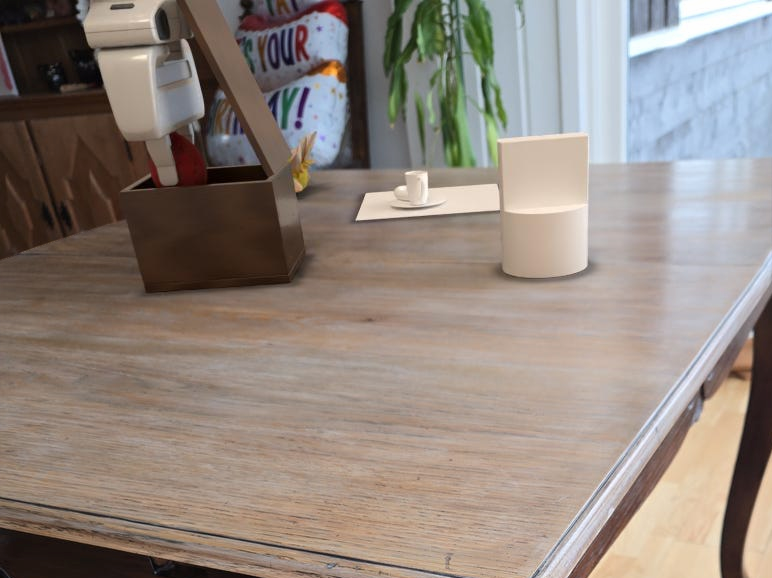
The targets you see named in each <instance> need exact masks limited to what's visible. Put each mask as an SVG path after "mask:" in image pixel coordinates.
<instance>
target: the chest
mask: <svg viewBox="0 0 772 578" xmlns="http://www.w3.org/2000/svg"><path fill="white" fill-rule="evenodd" d="M206 168H207V182H206V185H195V186H181V187H167V188H157V187H156V185H155V184H154V182H153V179H152V176H151V172H150V173H148V174H146V175H145V176H143V177H141V178H140V179H138V180H136V181H134V183H132V184H130V185H128V186H127V187H125V188H124V189H122V190H120V191H119V192H118V195H119V200H120V202H121V207H122V210H123V213H124V217H125V221H126V225H127V229H128V233H129V235H130V240H131V243H132V247H133V251H134V254H135V258H136V262H137V265H138V269H139V272H140V276H141V280H142V284H143V288H144V292H145V293H160V292H175V291H188V290H189V291H191V290H204V289H218V288H234V287H245V286H246V287H247V286H260V285H261V286H263V285H275V284H290V283H291V282H292V280H293V278H294V276H295V275H296V273H297V271H298V270H299V267H300V265H301V264H302V262H303V260H304V259H305V257H306V255H307V251H306V245H305V240H304V234H303V228H302V223H301V221H302V220H301V216H300V209H299V204H298V197H297V193H296V191H295V185H294V179H293V173H292V167H291V162H286V163H285V164H284V165H283V166H282V167H281V168H280V169H279V170H278V171H277V172H276V173H275V174H274V175H272V176H270V177H267V175H266V173H265V171H264V169H263V167H262V165H261V164H260V163H252V164H239V165H223V166H209V167H206Z"/></svg>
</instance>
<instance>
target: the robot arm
mask: <svg viewBox="0 0 772 578" xmlns="http://www.w3.org/2000/svg"><path fill="white" fill-rule="evenodd" d="M83 30H84V33H85V37H86V42H87V44H88V46H89V48H91V49H92V50H98V51H97V61H98V68H99V71H100V74H101V79H102V82H103V85H104V89H105V91H106V96H107V98H108V101H109V104H110V107H111V111H112V113H113V117H114V120H115V123H116V125H117V127H118V129H119V131H120V133H121V135H122V136H123V138H124V139H125V141H127V142H145V145H146V150H147V152H148V154H149V156H151V158H152V160H153V162H154V164H155V166H156V167H157V171H158V175H159V179H160V182H161V184H162V185H164V186H170V185H176V184H177V183H179V182H180V180H181V177H180V174H179V168H178V164H175V161H174V158H173V155H172V151H171V148H170V146H171V141H170V137H169V134H170V133H172V132H174V131H177V133H178V134H179V135H181V136H183V137H185V138H186V139H188V140H189V141H190V142H192V143H193V144H194V145H195V132H194V126H193V123H194V122H196V121H198V120H200V119H202V118H204V117H205V102H204V97H203V93H202V89H201V85H200V80H199V76H198V72H197V68H196V64H195V60H194V57H193V53H192V50H191V47H190V45H189V42H188V41H187V39H193V38H194V37H195V36H194V34H193V32H192V31H191V29H190V27H189V25H188V23H187V21H186V19H185V17H184V15H183V13H182V11H181V9H180V7H179V5H178V4H177V2H176V0H89V9H88V11H87V14H86V15H85V18H84V19H83Z"/></svg>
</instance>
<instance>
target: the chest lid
mask: <svg viewBox="0 0 772 578" xmlns="http://www.w3.org/2000/svg"><path fill="white" fill-rule="evenodd" d="M176 2H177V4H178V5H179V7H180V9H181V11H182V13H183V15H184V17H185V19H186V21H187V23H188V25H189V27H190V29H191V31H192V32H193V35H194V36H193V37H194V39H195V40H196V42H197V44H198V46H199V48H200V50H201V51H202V54H203V56H204V57H205V59H206V61H207V63H208V66H209V67H210V69H211V71H212V73H213V75H214V77H215V79H216V81H217V83H218V84H219V87H220V89H221V90H222V93H223V94H224V96H225V98H226V100H227V102H228V104H229V106H230V108H231V110H232V112H233V113H234V115H235V118H236V119H237V121H238V123H239V125H240V127H241V129H242V131H243V132H244V135H245V137H246V138H247V141H248V142H249V144H250V146H251V148H252V150H253V152H254V154H255V157H256V158H257V160H258V161H259V162H258V163H259V164H261V165H262V167H263V169H264V171H265V173H266V175H267V177H270V176H272V175H274V174H275V173H276V172H277V171H278V170H279V169H280V168H281V167H282V166H283V165H284V164H285V163H286V162H287V161H288V160H289V159H290V158H291V157H292V156H293V155H292V153H291V149H290V147H289V145H288V142H287V140H286V139H285V136H284V134H283V133H282V131H281V129H280V127H279V124H278V123H277V121H276V119H275V118H276V117H275V116H274V115H273V111H272V110H271V109H270V108H271V107H270V106H269V104H268V103H267V100H266V98H265V96H264V94H263V92H262V90H261V88H260V86H259V83H258V82H257V80H256V78H255V76H254V74H253V72H252V70H251V68H250V66H249V64H248V62H247V60H246V58H245V55H244V54H243V52H242V49H241V48H240V46H239V44H238V42H237V39H236V38H235V35H234V34H233V32H232V30H231V28H230V26H229V24H228V22H227V20H226V18H225V16H224V14H223V12H222V9H221V8H220V5H219V3H218V2H217V0H176Z"/></svg>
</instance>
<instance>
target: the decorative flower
mask: <svg viewBox="0 0 772 578" xmlns="http://www.w3.org/2000/svg"><path fill="white" fill-rule="evenodd" d="M317 134H318V131H316V130H314V131H313V133H312V134H311V135H310V130H308V131H307V133H306V135H304V136H302V137H301V139H300V141H299V143H298V146H296V147H295V148H293V149H290V151H291V153H292V155H293V156H292V157H291V158H290V159H289V160H288V161H287V162H291V167H292V173H293V179H294V185H295V191H296V194H299V193H300V192H302V191H303V190H304V189H305V188H307V185H308V181H309V180H308V179H310V180H311V181H313V179H312V178H311V176H310V175H309V171H308V169H309V168H311V165H313V164H315V163H316V161H317V160H316V159H314V158H309V157H310V155H311V153H312V150H313V148H314V145H315V141H316V138H317Z"/></svg>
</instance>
